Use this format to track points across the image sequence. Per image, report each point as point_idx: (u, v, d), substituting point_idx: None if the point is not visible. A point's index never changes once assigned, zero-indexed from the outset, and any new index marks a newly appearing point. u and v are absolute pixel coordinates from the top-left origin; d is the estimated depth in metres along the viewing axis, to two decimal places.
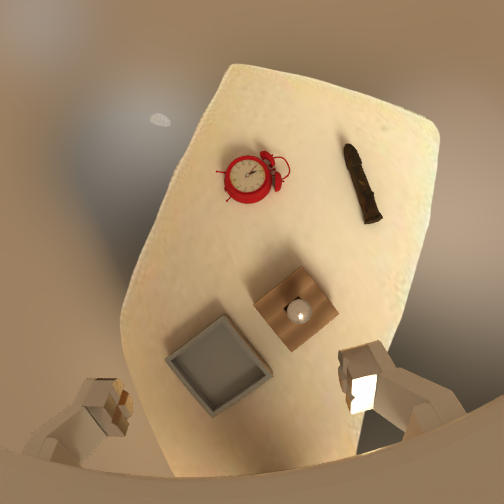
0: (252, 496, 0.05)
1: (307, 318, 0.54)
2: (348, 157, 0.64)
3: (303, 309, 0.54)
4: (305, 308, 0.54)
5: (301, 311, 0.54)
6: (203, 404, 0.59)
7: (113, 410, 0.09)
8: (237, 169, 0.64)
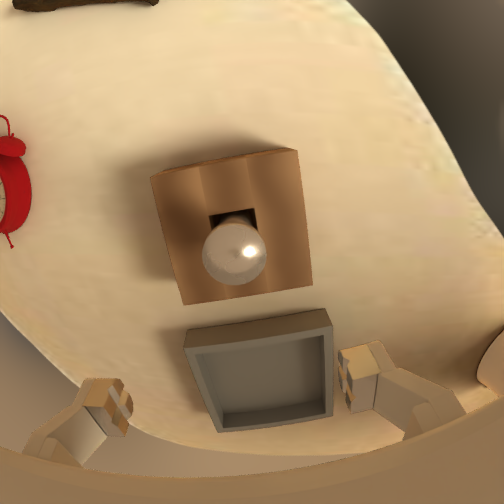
0: (251, 496, 0.05)
1: (260, 247, 0.21)
2: (29, 5, 0.17)
3: (235, 245, 0.21)
4: (234, 240, 0.21)
5: (237, 251, 0.21)
6: (307, 419, 0.37)
7: (113, 410, 0.09)
8: None
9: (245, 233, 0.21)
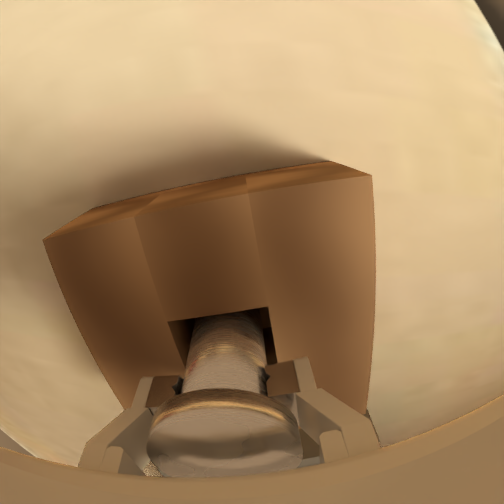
0: (252, 496, 0.05)
1: (289, 448, 0.07)
2: None
3: (226, 448, 0.07)
4: (222, 440, 0.07)
5: (230, 455, 0.07)
6: None
7: None
8: None
9: (251, 431, 0.07)
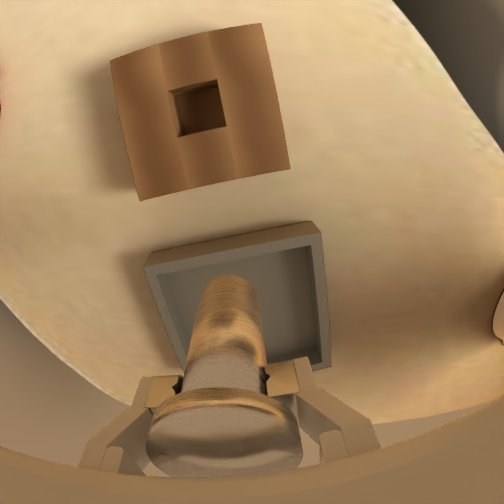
0: (252, 496, 0.05)
1: (289, 447, 0.07)
2: None
3: (226, 447, 0.07)
4: (221, 440, 0.07)
5: (230, 455, 0.07)
6: None
7: None
8: None
9: (251, 430, 0.07)
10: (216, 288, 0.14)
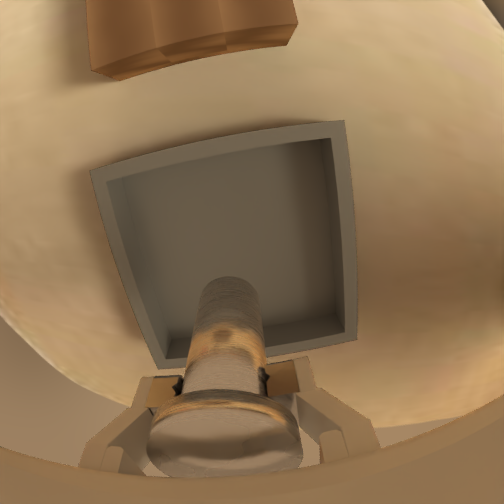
0: (252, 496, 0.05)
1: (289, 448, 0.07)
2: None
3: (226, 448, 0.07)
4: (222, 441, 0.07)
5: (230, 456, 0.07)
6: (313, 344, 0.23)
7: None
8: None
9: (251, 432, 0.07)
10: (217, 289, 0.14)
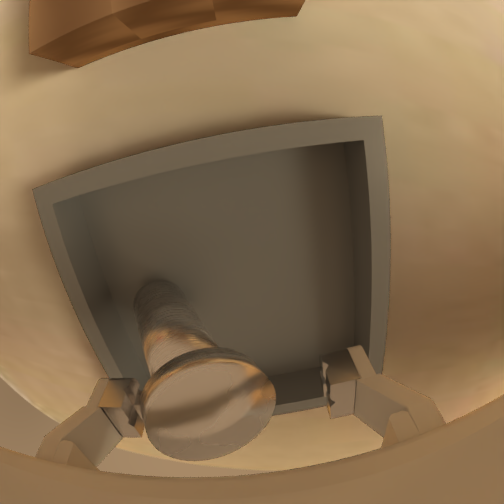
0: (252, 496, 0.05)
1: (264, 389, 0.09)
2: None
3: (215, 402, 0.09)
4: (210, 394, 0.08)
5: (218, 410, 0.09)
6: None
7: (130, 410, 0.09)
8: None
9: (233, 376, 0.09)
10: (149, 292, 0.15)
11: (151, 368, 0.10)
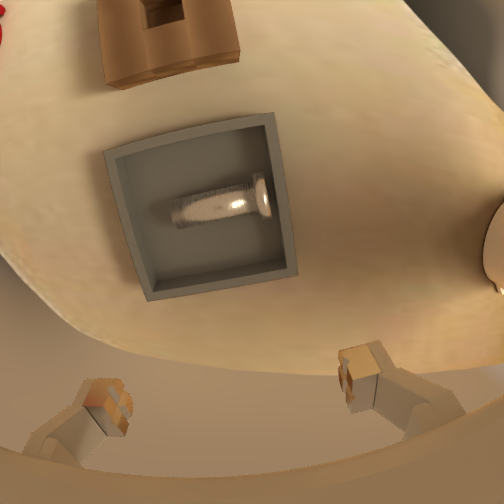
0: (252, 496, 0.05)
1: None
2: None
3: None
4: None
5: None
6: (263, 277, 0.31)
7: (113, 410, 0.09)
8: None
9: (264, 179, 0.29)
10: (183, 197, 0.29)
11: (234, 194, 0.27)
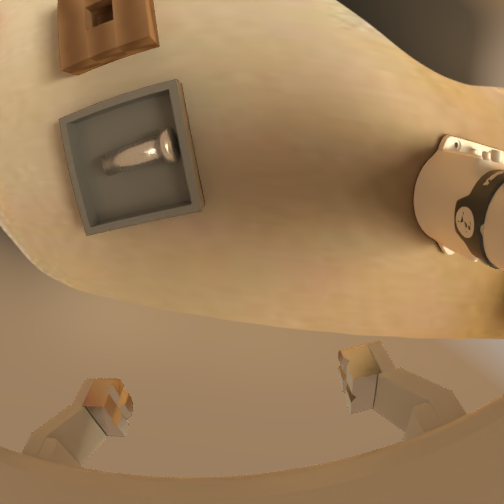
0: (251, 496, 0.05)
1: (177, 142, 0.35)
2: None
3: (172, 138, 0.34)
4: (172, 134, 0.33)
5: (173, 141, 0.34)
6: (172, 212, 0.36)
7: (113, 410, 0.09)
8: None
9: (173, 132, 0.34)
10: (113, 150, 0.34)
11: (146, 144, 0.32)
